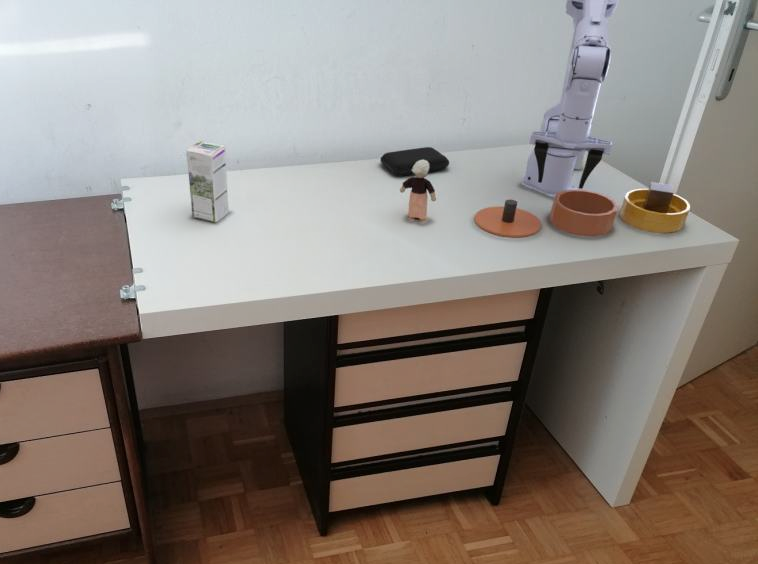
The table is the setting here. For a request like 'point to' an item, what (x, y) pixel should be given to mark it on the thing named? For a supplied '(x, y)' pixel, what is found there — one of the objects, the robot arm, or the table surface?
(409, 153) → the carrying case
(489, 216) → the lid
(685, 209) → the bowl
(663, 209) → the walnut block
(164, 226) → the table surface
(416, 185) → the grandmother figurine
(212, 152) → the syrup box
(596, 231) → the pot
